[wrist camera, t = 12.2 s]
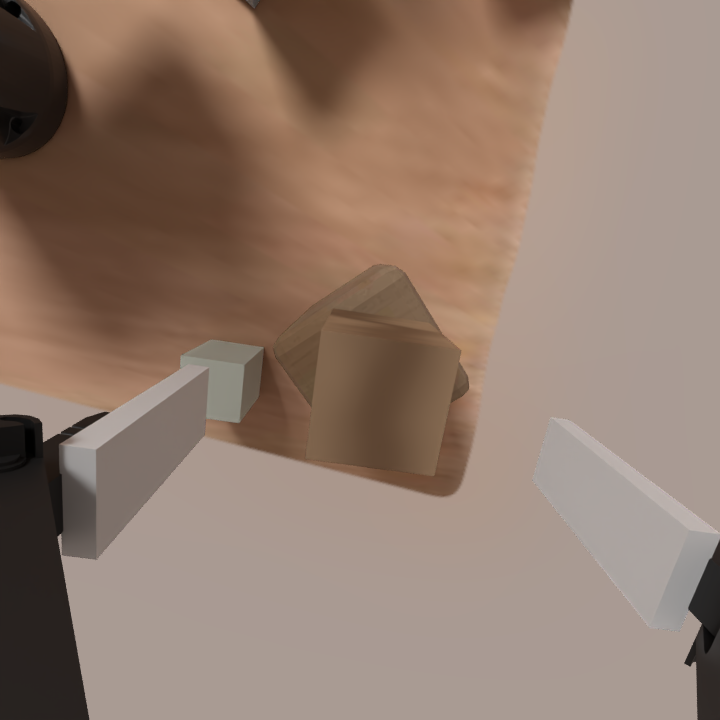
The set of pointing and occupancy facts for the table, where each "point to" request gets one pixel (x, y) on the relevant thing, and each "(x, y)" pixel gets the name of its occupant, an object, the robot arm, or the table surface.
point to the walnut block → (381, 393)
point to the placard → (253, 3)
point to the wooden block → (362, 294)
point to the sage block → (228, 377)
